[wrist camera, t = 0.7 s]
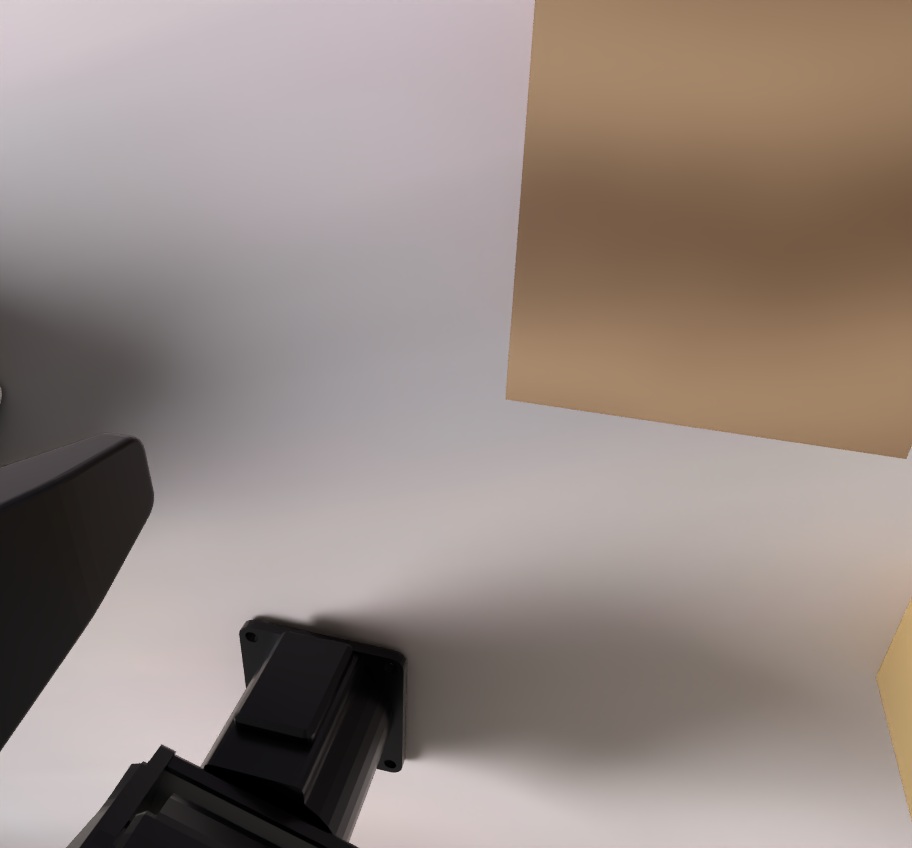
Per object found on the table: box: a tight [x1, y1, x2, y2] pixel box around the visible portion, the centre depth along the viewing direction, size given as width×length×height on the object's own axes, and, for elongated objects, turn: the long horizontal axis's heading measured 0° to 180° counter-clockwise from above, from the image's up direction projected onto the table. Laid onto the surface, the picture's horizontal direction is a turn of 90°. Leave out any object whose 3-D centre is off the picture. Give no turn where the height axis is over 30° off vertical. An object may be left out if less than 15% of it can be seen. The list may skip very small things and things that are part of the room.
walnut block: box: [506, 0, 912, 459], centre depth 18 cm, size 9×9×4 cm
